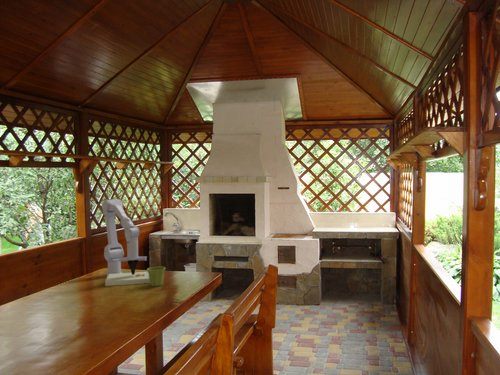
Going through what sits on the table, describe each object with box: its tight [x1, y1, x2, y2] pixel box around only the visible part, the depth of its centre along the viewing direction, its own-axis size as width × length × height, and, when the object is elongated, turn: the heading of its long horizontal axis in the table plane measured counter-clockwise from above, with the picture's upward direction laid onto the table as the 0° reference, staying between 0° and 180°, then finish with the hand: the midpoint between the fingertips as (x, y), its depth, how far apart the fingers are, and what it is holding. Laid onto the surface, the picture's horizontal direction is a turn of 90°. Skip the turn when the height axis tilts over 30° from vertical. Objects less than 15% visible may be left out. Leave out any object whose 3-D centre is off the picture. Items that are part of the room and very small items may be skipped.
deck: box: [104, 271, 150, 287], centre depth 226 cm, size 18×24×4 cm
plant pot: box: [146, 266, 166, 287], centre depth 216 cm, size 9×9×9 cm
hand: (133, 274), depth 227 cm, fingers closed
